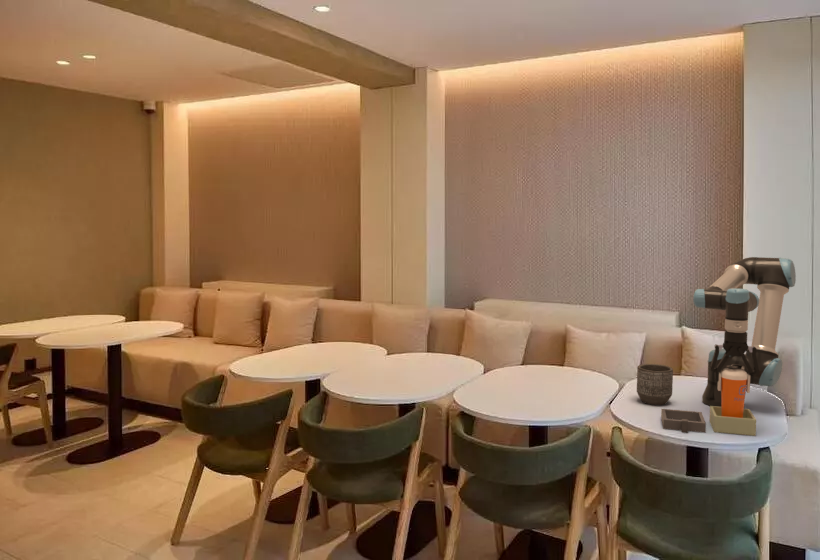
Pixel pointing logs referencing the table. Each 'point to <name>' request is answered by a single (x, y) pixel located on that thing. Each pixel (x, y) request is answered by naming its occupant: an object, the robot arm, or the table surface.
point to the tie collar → (683, 420)
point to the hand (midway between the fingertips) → (733, 390)
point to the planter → (654, 383)
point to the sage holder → (732, 422)
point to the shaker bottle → (733, 390)
